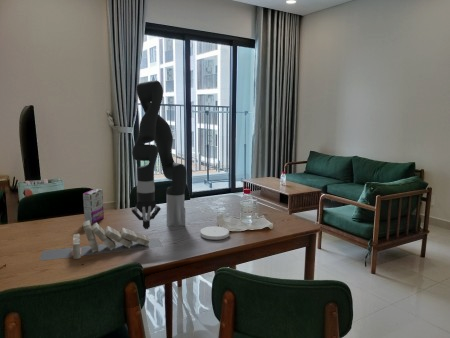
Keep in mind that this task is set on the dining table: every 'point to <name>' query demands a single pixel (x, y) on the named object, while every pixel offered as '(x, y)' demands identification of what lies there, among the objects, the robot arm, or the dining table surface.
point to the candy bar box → (93, 205)
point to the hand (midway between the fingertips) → (146, 228)
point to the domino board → (101, 249)
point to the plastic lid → (214, 232)
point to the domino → (76, 246)
